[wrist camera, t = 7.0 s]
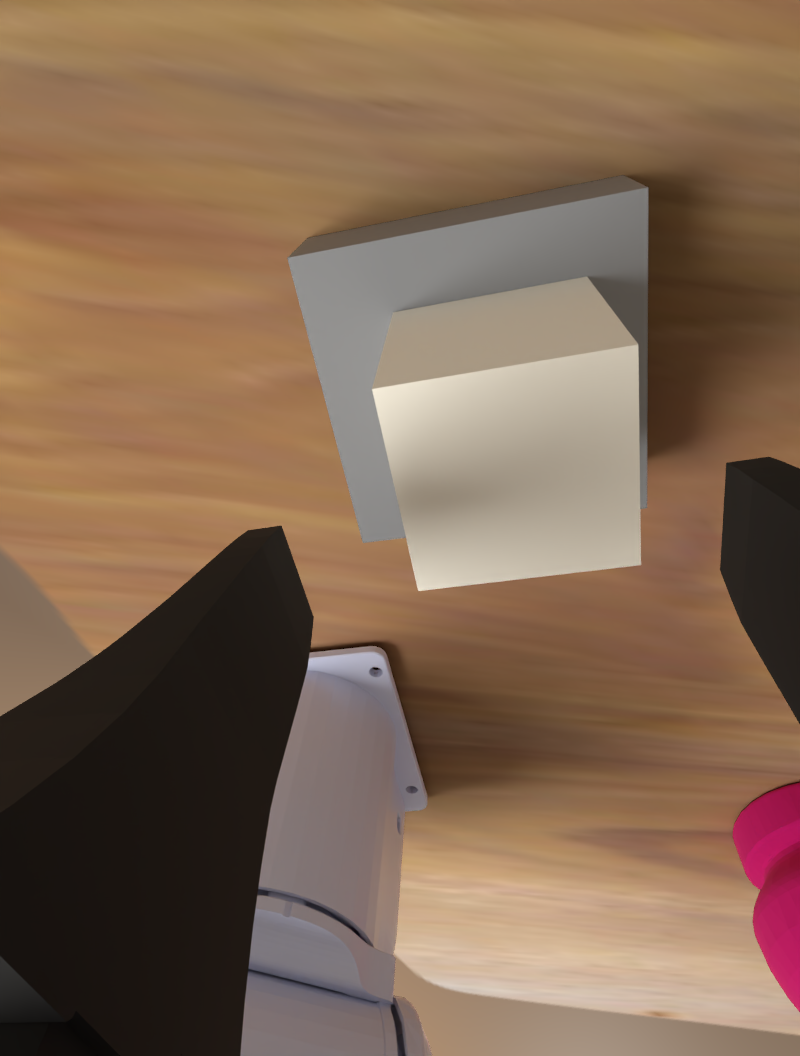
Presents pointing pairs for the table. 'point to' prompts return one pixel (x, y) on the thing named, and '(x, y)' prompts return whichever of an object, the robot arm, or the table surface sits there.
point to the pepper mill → (775, 879)
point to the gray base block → (454, 274)
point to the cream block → (513, 435)
